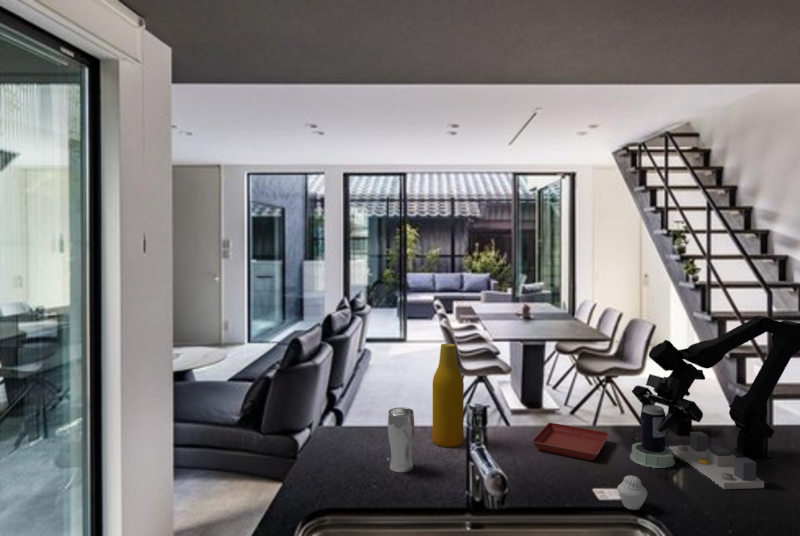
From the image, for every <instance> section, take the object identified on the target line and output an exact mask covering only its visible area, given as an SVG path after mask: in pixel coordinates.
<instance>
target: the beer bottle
mask: <svg viewBox="0 0 800 536" xmlns="http://www.w3.org/2000/svg"><path fill="white" fill-rule="evenodd" d="M457 358H458V357H457V349H456V344H454V343H441V345H440V351H439V362H438V366H437V368H436V371H435V372H434V375H433V378H432V434H431V435H432V436H431V437H432V441H433V443H434V444H435V445H436V446H438V447H442V448H457V447H459V446H461V445H462V444H463V442H464V438H465V436H464V434H465V432H464V431H465V430H464V417H465V416H464V414H465V413H464V412H465V411H464V410H465V409H464V404H465V403H464V397H465V396H464V393H465V391H464V390H465V389H464V386H465V383H464V382H465V381H464V379H463V378H464V377H463V375H462V372H461V370H460V368H459V365H458V359H457Z"/></svg>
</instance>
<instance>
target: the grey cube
mask: <svg viewBox="0 0 800 536" xmlns="http://www.w3.org/2000/svg"><path fill="white" fill-rule="evenodd" d="M710 450H711V452H712V453H714V454H716V455H717V456H731V454H732V453H731V451H730V450H729V449H728V448H725V447H723V446H710Z"/></svg>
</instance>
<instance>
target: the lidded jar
mask: <svg viewBox="0 0 800 536" xmlns="http://www.w3.org/2000/svg"><path fill="white" fill-rule="evenodd" d="M617 493H618V496H619V498H620V501H621V502H622V504H623V506H624V507H625V508H626V509H628V510H633V511H638V510H640V509H641V507H642V506H643V504H644V503H645V501H646V498H647V497H648V491H647V489H646V487H644V485H643V484H642V480H641V479H640V478H639V477H638V476H635V475H626V476H624V477H623V480H622V482H621V483H620V484H618V485H617Z"/></svg>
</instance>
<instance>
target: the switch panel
mask: <svg viewBox="0 0 800 536" xmlns="http://www.w3.org/2000/svg"><path fill="white" fill-rule="evenodd" d="M668 448H670V449H671V450H673V453H674V454H675V455H677V456H678V457H680V458H681V459H683V460H684V461H685V462H687V463H689V464H690V465H691V466H692V467H694V468H695V469H697V470H698V471H699V472H698V471H697V470H696V471H697V472H698V473H700V472H701V473H702V474H701V473H700V474H701V475H703V474H704V475H705V476H707V477H708V478H710V479H711V480H712V482H713V481H714V482H715V483H714V482H713V483H714V484H716V485H717V484H718V485H717V486H718V487H720V488H721V487H722V489H723V490H739V489H740V490H741V489H743V490H744V489H764V488H765V481H764V480H762V479H760V478H758V476H757V462H756V461H754V460H753V459H750V458H748V457H746V456H744V457H736V455H734V454H732V453H731V456H717V455H716V454H714V453H712V452H711V448H709V435H707V434H706V433H704V432H702V431H692V432H690V436H689V445H684V444H680V445H679V444H678V445H672V446H671V445H669V446H668ZM675 455H674V456H675ZM678 457H677V458H678ZM681 459H680V460H681ZM684 461H683V462H684ZM685 462H684V463H685ZM691 466H690V467H691ZM692 467H691V468H692ZM694 468H693V469H694ZM695 469H694V470H695ZM704 475H703V476H704ZM705 476H704V477H705ZM707 477H706V478H707ZM708 478H707V479H708ZM710 479H709V480H710ZM711 480H710V481H711Z"/></svg>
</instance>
